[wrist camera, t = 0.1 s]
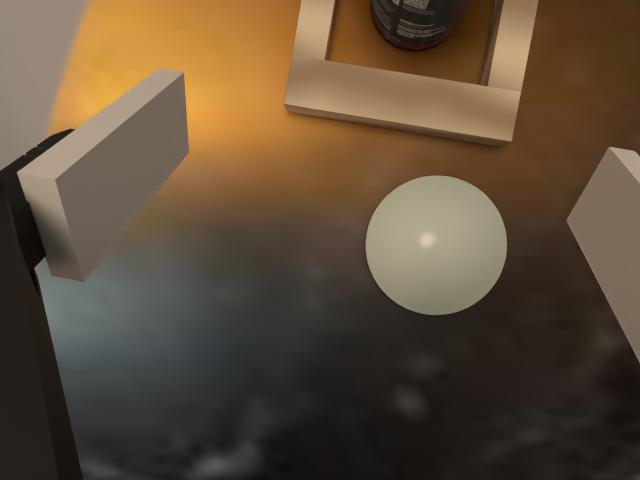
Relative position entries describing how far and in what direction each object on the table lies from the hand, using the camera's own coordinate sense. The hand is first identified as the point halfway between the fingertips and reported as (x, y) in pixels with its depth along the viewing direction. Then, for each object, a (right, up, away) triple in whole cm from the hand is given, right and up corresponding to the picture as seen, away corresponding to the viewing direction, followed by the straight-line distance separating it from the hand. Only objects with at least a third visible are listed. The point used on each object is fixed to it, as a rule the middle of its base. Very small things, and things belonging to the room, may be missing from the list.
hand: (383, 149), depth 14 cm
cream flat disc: (+5, -3, +15) cm, 17 cm away
